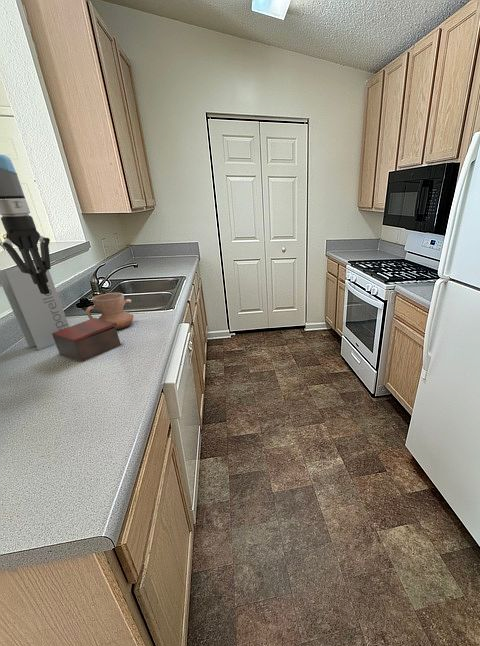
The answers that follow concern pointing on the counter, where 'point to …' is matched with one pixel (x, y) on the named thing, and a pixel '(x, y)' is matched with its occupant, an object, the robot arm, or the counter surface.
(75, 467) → the counter surface
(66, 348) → the book box
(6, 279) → the white lettered carton
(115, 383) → the counter surface
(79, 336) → the cover
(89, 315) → the ceramic jug
